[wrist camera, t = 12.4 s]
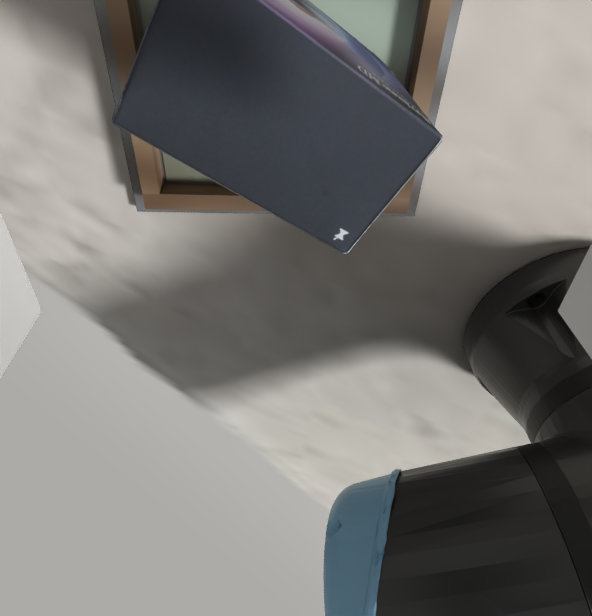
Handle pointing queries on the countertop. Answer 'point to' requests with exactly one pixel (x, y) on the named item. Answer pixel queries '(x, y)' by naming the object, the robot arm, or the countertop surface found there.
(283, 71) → the small box
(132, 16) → the wooden picture frame
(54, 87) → the countertop surface
